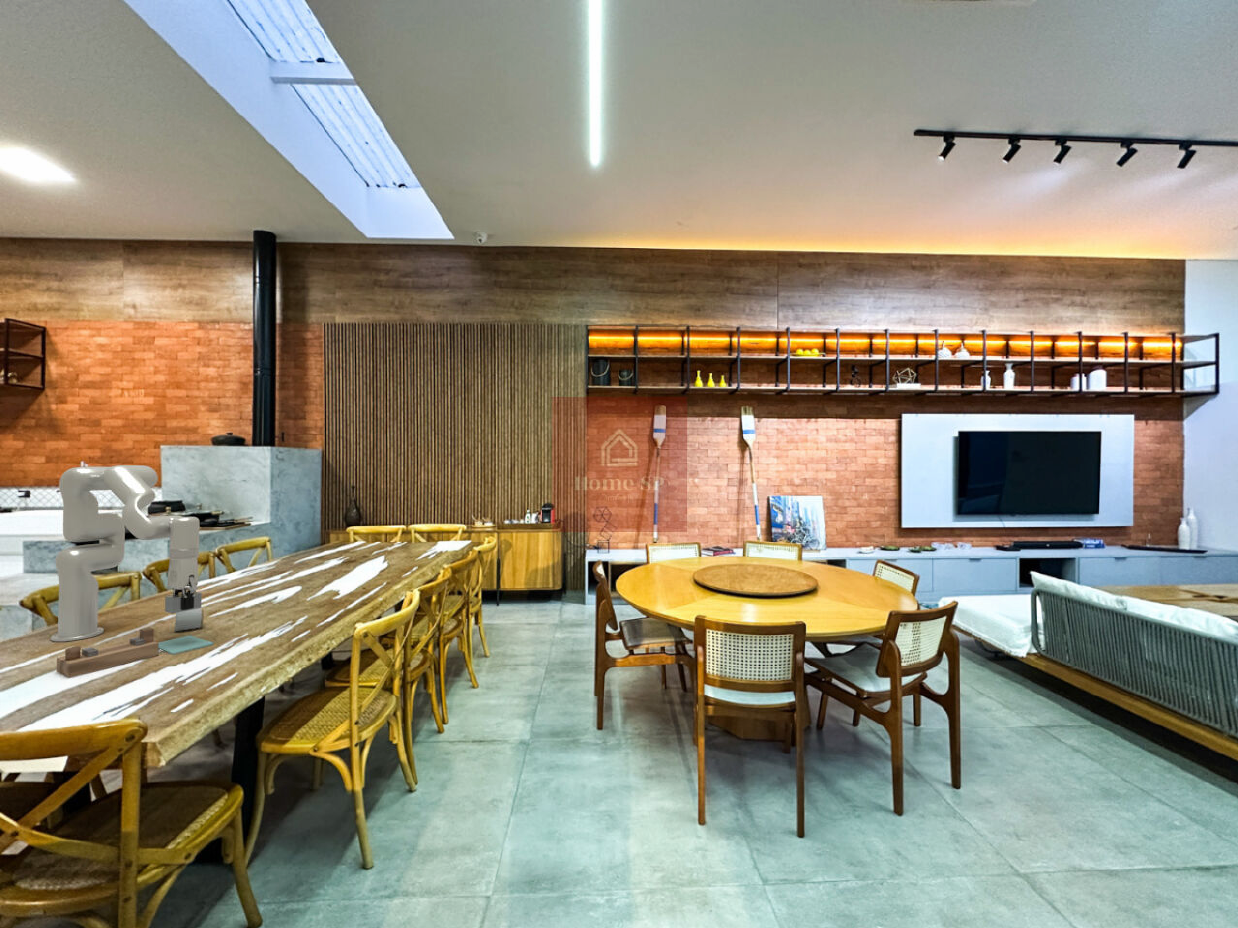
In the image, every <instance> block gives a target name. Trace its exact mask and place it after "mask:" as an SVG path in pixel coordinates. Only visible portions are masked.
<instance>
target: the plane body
mask: <svg viewBox="0 0 1238 928" xmlns="http://www.w3.org/2000/svg"><path fill="white" fill-rule="evenodd" d="M154 630H155V629H154V628H152V627H146V628H145V627H144V628H141V629H139V636H136V637H132V638H131V637H130V638H129V641H127V642H124V643H123V642H122V643H118V644H114V645H109V646H105V647H100V648H95V647H92V646H91V647H90V646H89V647H86V648H81V647H82V646H72V647H68V648H65V652H64V653H65V654H64V656H60V657H56V673H58V674H60V675H62V676H64V677H66V678H68V679H71V678H75V677H78V676H83V675H86V674H90V673H94V672H99V671H102V670H105V669H110V668H114V667H117V666H121V665H126V664H130V663H133V662H138V661H141V660H146V659H149V658H148V657H150V658H154V657H157V656H156V655H158V656H159V649H158V646H159V642H157V641H154V634H155V633H154V632H155V631H154ZM153 656H154V657H153Z"/></svg>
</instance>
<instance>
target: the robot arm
mask: <svg viewBox="0 0 1238 928" xmlns="http://www.w3.org/2000/svg"><path fill="white" fill-rule="evenodd" d="M158 480H159V478H158V474H157V472H156V470H155V469H154V468H153V467H151V466H149V465H142V464H141V465H139V464H138V465H137V464H135V465H129V464H127V465H126V464H118V465H112V466H78V467H72V468H70V469H67V470H65V471H64V472H63V473H62V474H61V476H60V478H59V482H58V485H59V487H58V488H59V492H60V495H61V499H62V502H63V508H62V510H63V511H62V535H63V538H64V539H65V540H66V541H68V542H72V543H82V542H84V543H85V542H90V541H91V542H92V541H99V543H93V544H83V545H76V546H71V547H67V548H64V549H62V550H61V551H59V552H58V553H57V555H56V557H55V560H54V561H55V562H54V563H55V567H56V571H57V575H58V616H57V617H58V618H57V620H58V621H57V633H54V634H53V635H51V637H50V641H53V642H71V641H78V640H84V639H88V638H89V639H90V638H93V637H96V636H99V635H101V634H103V633H104V627H100V626H98V623H99V622H98V621H99V615H98V614H99V587H100V586H99V581H98V579H96V577H95V576H94V575H93V574H92V572H95V571H96V572H97V571H101V570H107V569H111V568H112V569H113V568H117V566H120V564H121V563H122V562H123V561H124V557H125V541H126V540H125V536H126V535H125V534H126V530H125V528H126V529H127V530H128V531H129V532H130V534H132V535H133V536H134V537H135V538H137V539H139V540H142V541H154V540H162V539H169V565H168V572H167V573H168V574H167V587H168V588H170V589H172V595H177V594H179V593H180V592H183V598H182V610H187V609H192V608H194V596H195V591H196V592H197V589H198V585H199V566H198V558H199V557H200V519H199V518H198V517H196V516H182V515H162V516H151V517H147V516H146V515H145V514H144V513H143V511H141V509H144V508H146V507H148V506H150V505H151V504H152V503H153V502H154V500H155V499H156V492H155V491H154V490H153V489H152V488H153V487H154V486H155V485H157V482H158ZM91 491H92V492H93V491H111V492H112V493H113V494H114V495H115V496H116V498H117V499H119V500H120V502H121V503H123V504H122V505H124V506H123V508H122V512H121V516H120V515H118V514H115V513H111V512H106V513H104V512H103V513H100V512H99V501H98V499H97V497H96V496H95V495H94V494H93V493H92V492H91ZM186 591H187V593H186Z"/></svg>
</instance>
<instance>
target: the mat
mask: <svg viewBox="0 0 1238 928" xmlns="http://www.w3.org/2000/svg"><path fill="white" fill-rule="evenodd" d="M158 643H159V646H158V650H159V649H161V650H163V651H162V652H164V651H166V652H165V653H167V652H168V653H167V654H169V653H170V655H172V654H173V656H175V655H178V654H177V653H179V654H182V653H181V652H183V653H186V652H185V651H187V652H190V651H189V650H191V651H194V650H193V649H195V650H199V649H202V648H205V647H210V646H213V644H214V642H213V641H209V640H206V639H203V638H200V637H197V636H193V635H186V636H181V637H177V638H173V639H168V640H163V641H160V642H158ZM161 650H160V651H161ZM174 654H175V655H174Z"/></svg>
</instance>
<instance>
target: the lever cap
mask: <svg viewBox="0 0 1238 928" xmlns="http://www.w3.org/2000/svg"><path fill="white" fill-rule="evenodd" d="M187 591H188V590H186V593H187ZM202 596H203V595H202V592H199V591H197V590H196V591H195V596H194V608H192V609H187V610H182V598H183V592H180V593H179V594H177V595H173V594H172V595H166V596H164V612H165V613H169V614H172V615H173V614H176V613H178V612H183V611H188V610H193V609H202V601H203V599H202Z"/></svg>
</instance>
